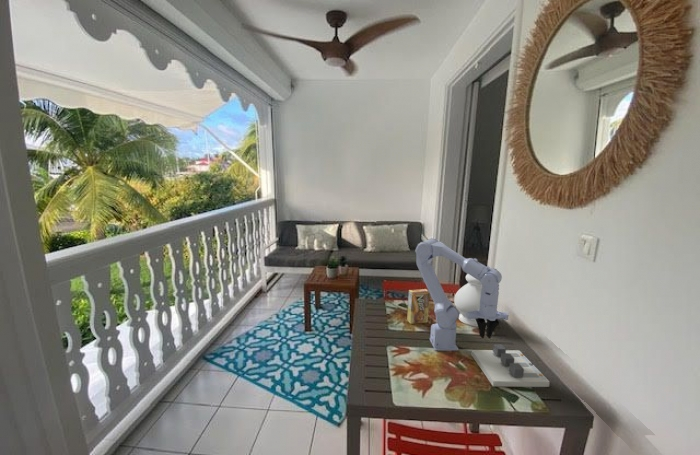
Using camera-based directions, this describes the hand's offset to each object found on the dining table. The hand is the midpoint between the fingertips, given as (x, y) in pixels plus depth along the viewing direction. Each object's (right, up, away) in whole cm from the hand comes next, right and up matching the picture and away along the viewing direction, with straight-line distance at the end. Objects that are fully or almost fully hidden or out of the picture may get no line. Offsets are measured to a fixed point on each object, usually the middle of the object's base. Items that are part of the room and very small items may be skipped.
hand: (484, 336), depth 106 cm
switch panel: (+6, -10, -4) cm, 13 cm away
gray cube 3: (+6, -9, -10) cm, 14 cm away
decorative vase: (+9, -4, +31) cm, 33 cm away
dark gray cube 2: (+6, -8, -4) cm, 11 cm away
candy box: (-18, -4, +29) cm, 35 cm away
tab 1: (+6, -7, +1) cm, 9 cm away
